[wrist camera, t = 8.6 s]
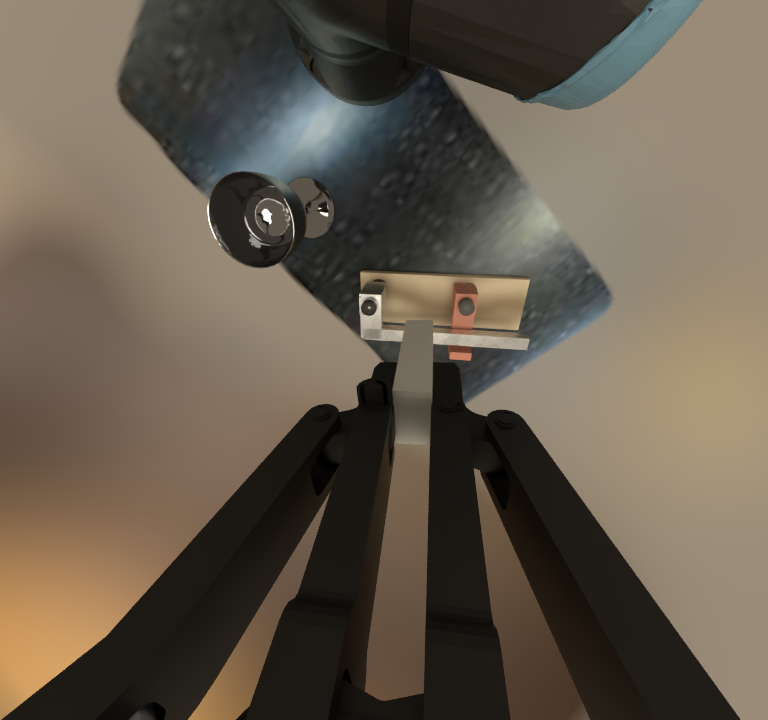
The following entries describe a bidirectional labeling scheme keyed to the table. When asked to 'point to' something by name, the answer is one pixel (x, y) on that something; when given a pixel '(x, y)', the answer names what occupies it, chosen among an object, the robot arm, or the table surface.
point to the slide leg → (463, 316)
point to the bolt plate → (450, 297)
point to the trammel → (373, 328)
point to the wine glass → (267, 216)
